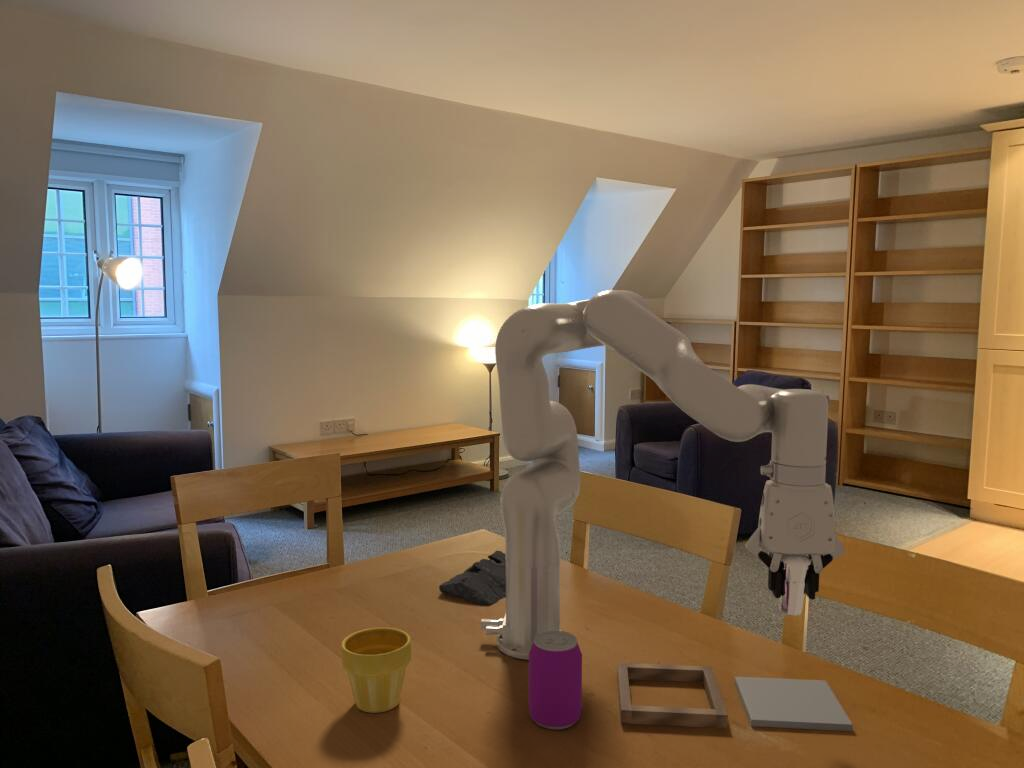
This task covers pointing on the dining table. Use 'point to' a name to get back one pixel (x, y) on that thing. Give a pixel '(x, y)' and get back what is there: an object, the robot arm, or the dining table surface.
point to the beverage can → (555, 680)
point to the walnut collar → (671, 715)
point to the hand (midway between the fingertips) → (792, 594)
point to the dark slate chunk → (480, 581)
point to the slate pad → (791, 704)
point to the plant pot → (376, 666)
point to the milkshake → (793, 583)
